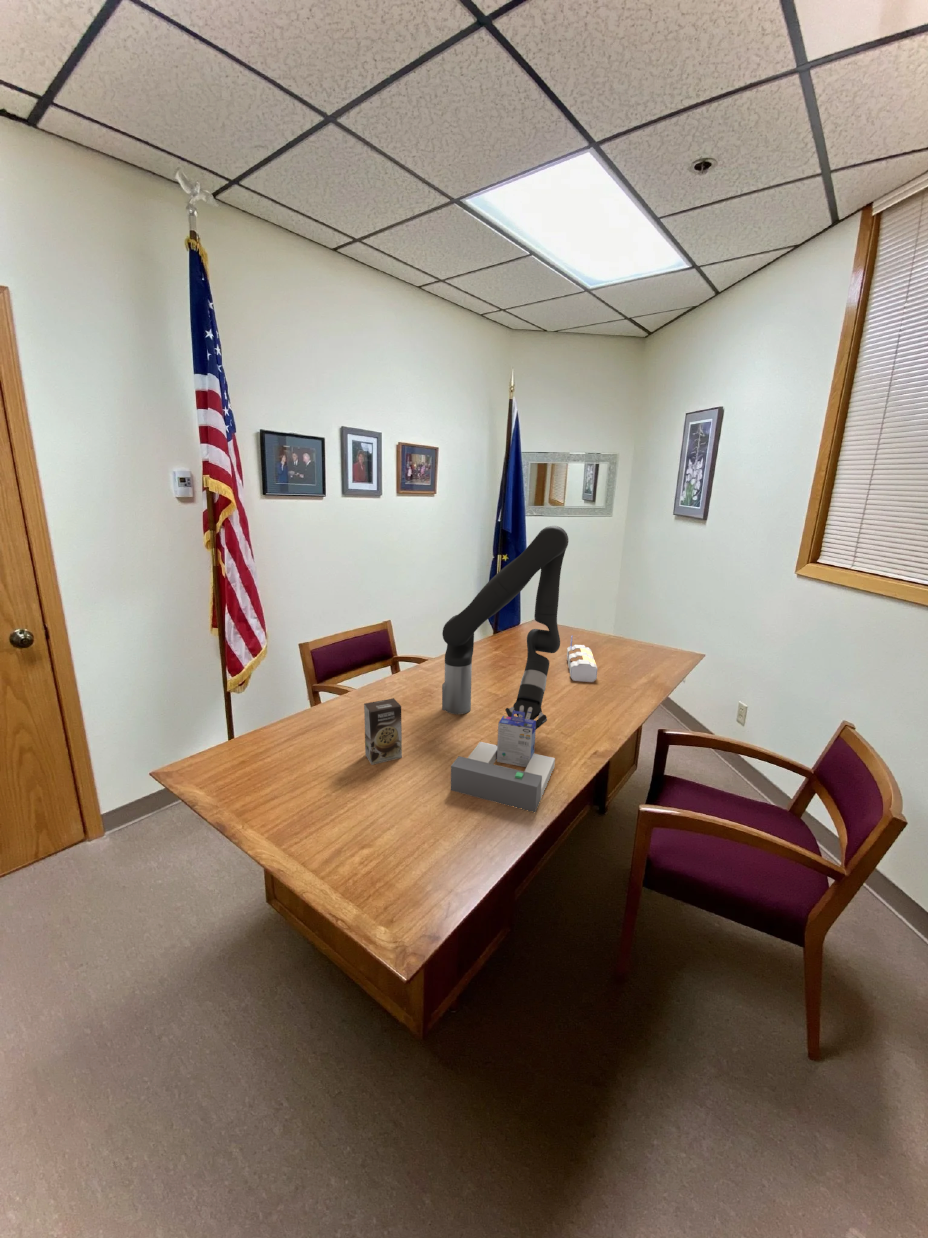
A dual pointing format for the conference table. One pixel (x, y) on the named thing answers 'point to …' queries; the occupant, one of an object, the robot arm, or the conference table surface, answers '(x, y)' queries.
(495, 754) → the charging dock
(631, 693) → the conference table surface
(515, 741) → the ink cartridge box
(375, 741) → the dessert mix box
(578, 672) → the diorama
